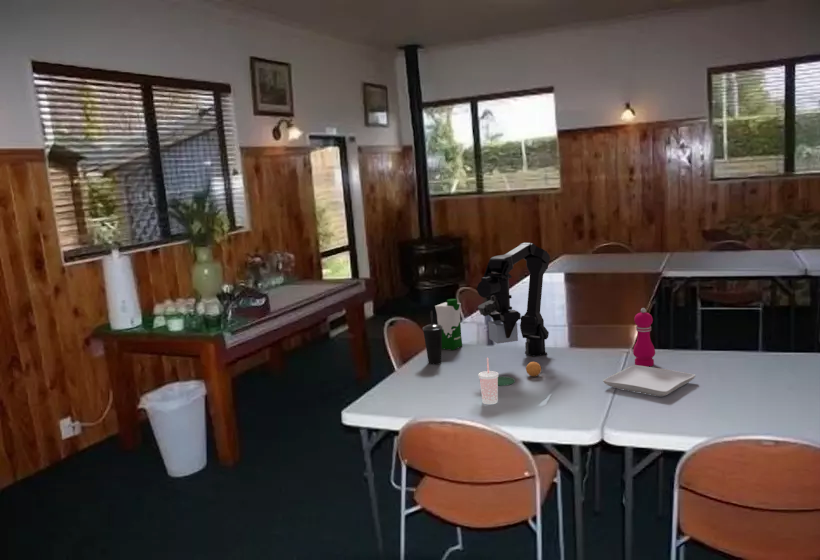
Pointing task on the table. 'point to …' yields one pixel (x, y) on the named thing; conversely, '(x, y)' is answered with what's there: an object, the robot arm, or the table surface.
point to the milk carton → (450, 323)
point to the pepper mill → (643, 340)
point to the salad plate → (648, 380)
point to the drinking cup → (433, 341)
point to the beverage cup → (489, 386)
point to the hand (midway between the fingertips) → (503, 335)
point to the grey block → (501, 332)
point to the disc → (505, 381)
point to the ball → (533, 369)
